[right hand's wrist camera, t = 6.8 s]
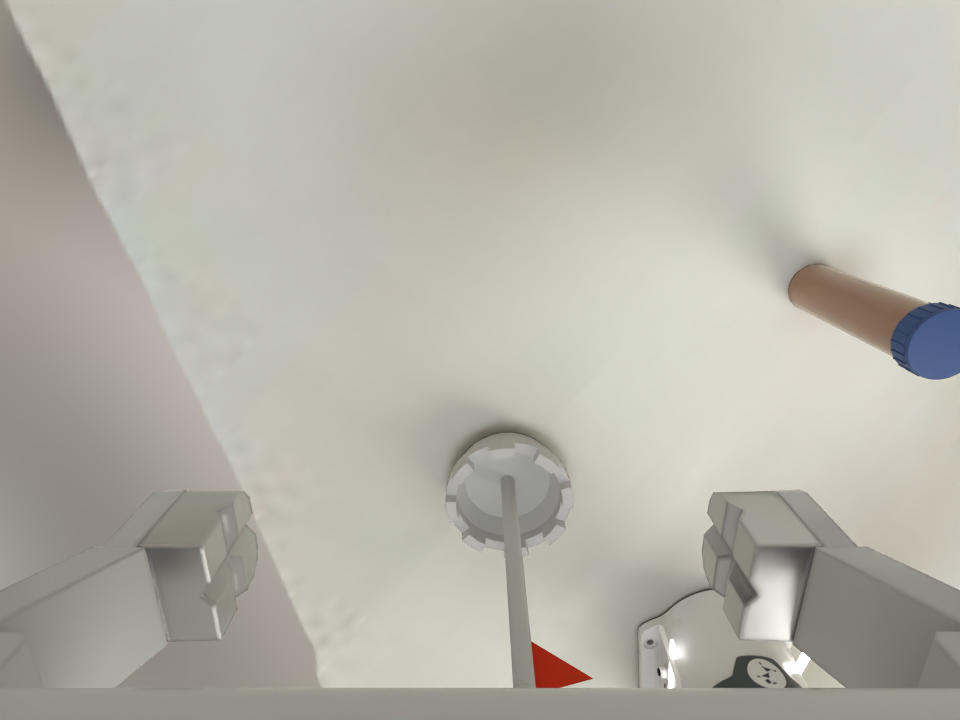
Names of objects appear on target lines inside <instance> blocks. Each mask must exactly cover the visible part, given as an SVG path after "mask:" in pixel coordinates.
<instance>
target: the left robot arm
mask: <svg viewBox="0 0 960 720" xmlns="http://www.w3.org/2000/svg"><path fill="white" fill-rule="evenodd" d="M723 604H724V597H723V596H721V595H720V594H718V593H717V592H715V591H714V590H708V591H703V592H700V593H696V594H694V595H691V596H689V597H687V598H685V599H683V600H681V601H680V602H678V603H677V604H676V605H674V606H673V607H672V608H671V609H670V610H668V611H667V612H666V613H665V614H663V615H662V616H660V617H658V618H655V619H653V620H650V621H648V622H646V623H644V624H642V625H641V626H640V627H639V630H638V649H639V688H808V687H807V685H806V683H805V681H804V679H803V677H802V672H803V670H804V668H805V667H806V665H807V663H808V661H809V660H810V658H809V657H808V656H806V655H805V654H804V653H803V652H802V654H801V655H800V657H799V659H798V661H797V662H795V660H794V658H793V656H792V654H791V652H790V649H791V647H792V642H782V641H746V640H739V639H738V637H737V635H736V633H735V632H734V630H733V628H732V626H731V624H730V622H729V620H728V618H727V616H726V615H725V613H724V611H723Z"/></svg>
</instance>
